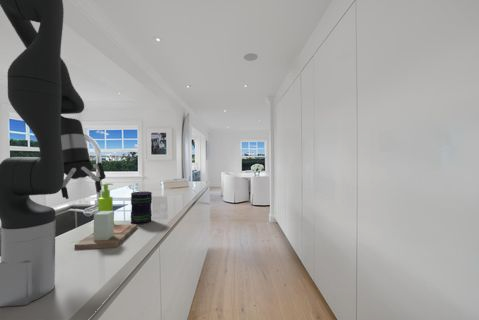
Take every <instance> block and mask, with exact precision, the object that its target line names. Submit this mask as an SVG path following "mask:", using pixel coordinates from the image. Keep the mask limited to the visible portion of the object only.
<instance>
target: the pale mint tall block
mask: <svg viewBox="0 0 479 320" xmlns="http://www.w3.org/2000/svg"><path fill="white" fill-rule="evenodd" d="M114 225H115V210H112V211H100V212H98V211H97V212H96V213H93V233H94V241H95V240H108V239H110V238H111V237H112V236H113V235H114Z"/></svg>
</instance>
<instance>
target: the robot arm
mask: <svg viewBox="0 0 479 320" xmlns="http://www.w3.org/2000/svg"><path fill="white" fill-rule="evenodd" d="M0 7H1V8H2V10H3V12H4V15H5V16H6V18H7V19H8V21H9V22H10V24H11V26H12V27H13V30H14V31H15V33H16V35H17V36H18V38H19V40H20V41H21V42H22V44H23V45H24V47H25V49H24V50H23V51H22V52H21V53H20V54H19V55H17V57H16V58H15V59H14V60H13V61H12V62H11V64H10V65H9V66H8V69H7V97H8V101H9V103H10V105H11V106H12V108H13V109H14V112H16V114H17V115H18V116H19V118H21V119H22V121H23V122H24V123H25V124H26V126H27V127H28V128H29V130H30V131H31V132H32V134H33V135H34V137H35V139H36V142H37V144H38V148H39V149H38V150H39V157H36V156H32V157H31V156H12V157H7V158H5V159H4V160H2V161H1V162H0V221H1V222H0V223H1V224H0V227H1V229H0V231H1V233H0V234H1V237H0V238H1V239H0V241H1V242H0V243H1V244H0V307H1V308H2V307H13V306H14V307H15V306H26V305H29V304H31V302H33V301H35V300H38V299H40V298H42V297H44V296H46V295H47V294H48V293H50V292H51V291H52V290H53V289H54V288H55V286H56V285H55V282H56V280H55V279H56V217H57V216H56V210H55V209H54V208H53V207H50V206H46V205H44V204H40V203H38V202H35V201H34V200H32V199H31V197H30V196H40V195H41V196H42V195H45V196H46V195H55V194H57V193H59V192H60V191H61V195H62V198H63V199H64V198H65V200H69V193H68V188H67V185H68V183H70V180H71V179H73V180H78V179H83V178H84V179H85V178H87V177H89V178H90V179H92V180H93V181H94V186H95V191H96V193H97V194H98V193H100V192H101V191H102V185H101V181H102V180H104V179H106V173H105V171H104V167H103V163H102V162H98V163H92V162H91V158H90V157H91V156H90V153H89V149H88V144H87V140H86V138H85V134H84V129H83V125H82V122H81V121H80V120H79V119H77V118H73V117H72V118H71V117H65V116H63V115H70V114H71V115H73V114H81V113H82V112H83V111H84V110H85V103H84V100H83V98H82V97H81V95H80V94H79V92H78V91H77V90H76V88H75V87H74V85H73V82H72V80H71V77H70V73H69V70H68V67H67V65H66V63H65V61H64V60H63V58H62V57H61V55H62V53H61V49H62V39H63V29H64V13H65V12H64V11H65V10H64V2H63V0H0ZM32 22H36V23H39V28H38V31H37V30H36V28H35V27H34V25H33V23H32ZM93 168H94V169H95V170H98V173H99V177H98V176H97V175H96V174H95V173H93V172H92V169H93ZM65 175H66V177H65Z"/></svg>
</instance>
